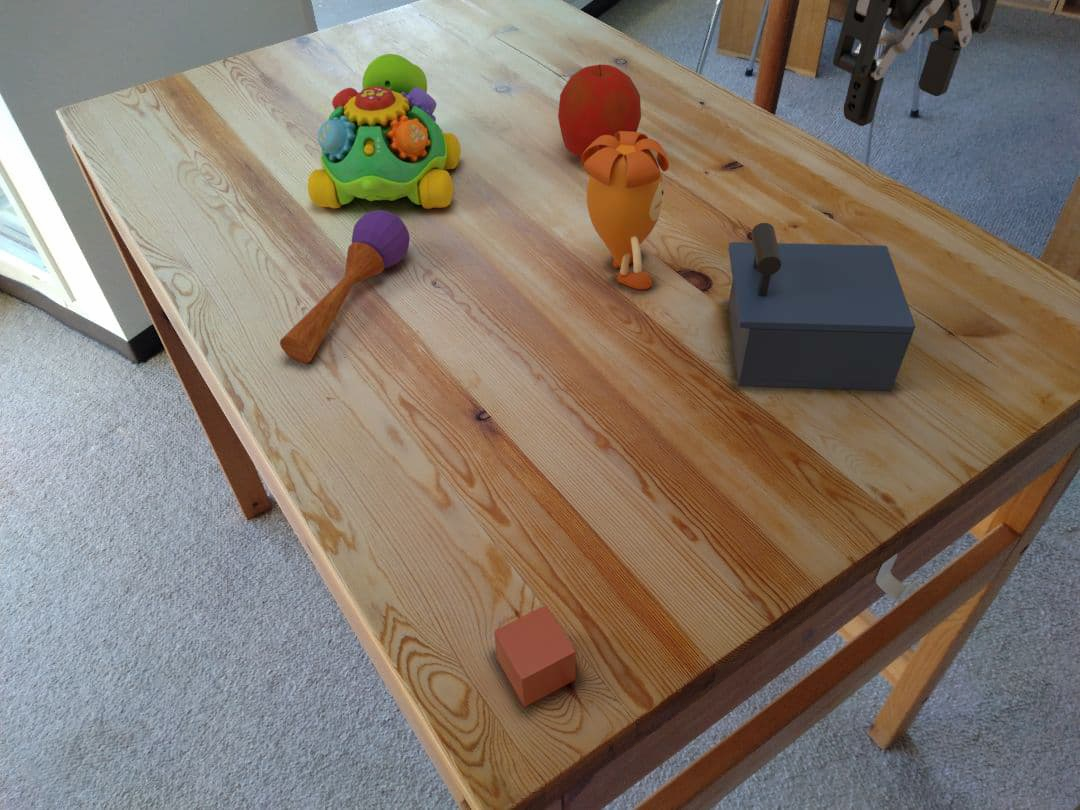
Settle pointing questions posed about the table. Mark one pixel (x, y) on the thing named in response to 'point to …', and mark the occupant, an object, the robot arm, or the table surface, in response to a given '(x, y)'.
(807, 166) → the table surface
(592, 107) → the apple
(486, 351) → the table surface
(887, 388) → the dark blue box
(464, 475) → the table surface
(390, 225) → the purple toy maraca
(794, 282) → the lid
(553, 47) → the table surface
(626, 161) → the toy figure
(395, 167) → the turtle toy
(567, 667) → the block
